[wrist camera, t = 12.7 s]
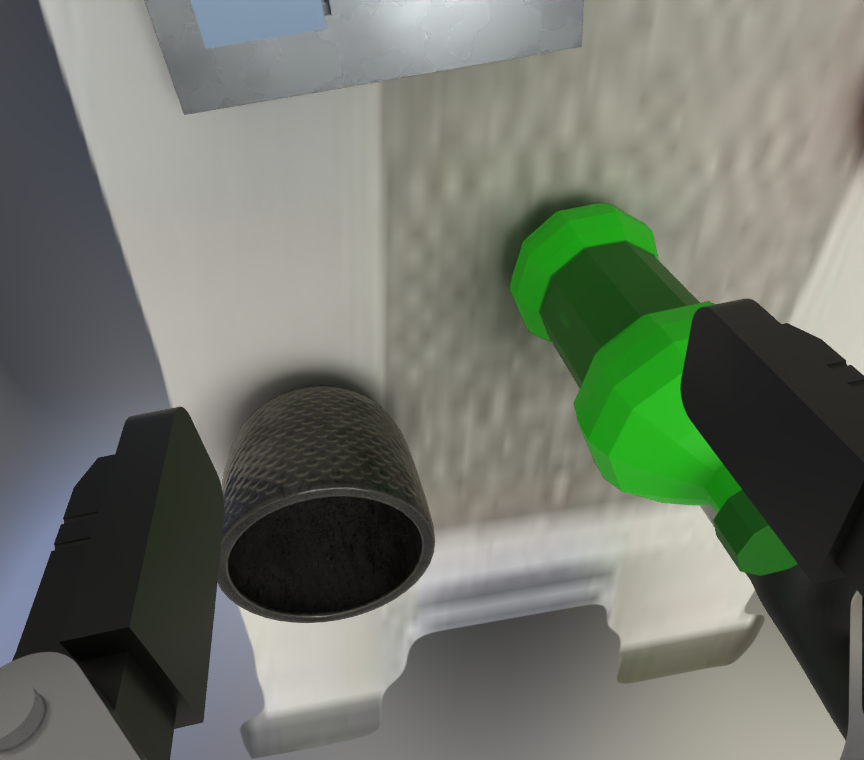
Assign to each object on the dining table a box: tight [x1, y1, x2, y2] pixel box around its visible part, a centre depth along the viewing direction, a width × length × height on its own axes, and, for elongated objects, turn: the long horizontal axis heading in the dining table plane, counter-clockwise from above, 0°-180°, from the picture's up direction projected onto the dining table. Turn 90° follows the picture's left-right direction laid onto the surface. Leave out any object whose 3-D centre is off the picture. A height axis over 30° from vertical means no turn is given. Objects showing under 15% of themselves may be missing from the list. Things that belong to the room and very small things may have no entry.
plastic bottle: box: [510, 203, 798, 576], centre depth 35 cm, size 10×10×25 cm
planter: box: [217, 386, 435, 623], centre depth 45 cm, size 14×14×13 cm
